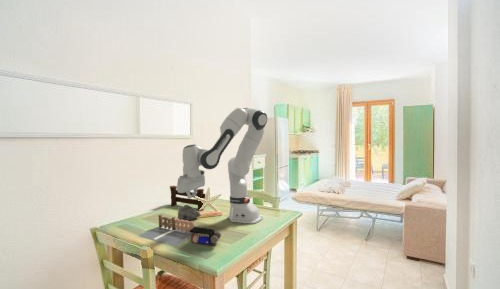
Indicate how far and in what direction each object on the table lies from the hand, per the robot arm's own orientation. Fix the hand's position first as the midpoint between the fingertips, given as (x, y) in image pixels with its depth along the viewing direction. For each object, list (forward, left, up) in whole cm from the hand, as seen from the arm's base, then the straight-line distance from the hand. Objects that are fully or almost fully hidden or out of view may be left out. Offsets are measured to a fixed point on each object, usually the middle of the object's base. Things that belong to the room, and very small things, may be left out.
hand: (192, 197), depth 143 cm
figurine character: (-17, +11, -19) cm, 28 cm away
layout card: (+8, +9, -19) cm, 23 cm away
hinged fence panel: (+2, +5, -18) cm, 19 cm away
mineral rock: (+14, -12, -19) cm, 27 cm away
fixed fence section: (+15, +5, -19) cm, 25 cm away
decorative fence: (+34, -32, -19) cm, 51 cm away
